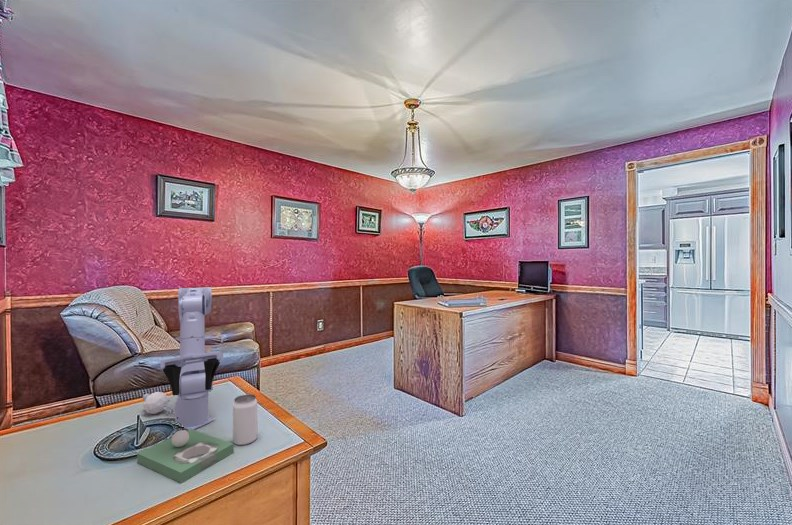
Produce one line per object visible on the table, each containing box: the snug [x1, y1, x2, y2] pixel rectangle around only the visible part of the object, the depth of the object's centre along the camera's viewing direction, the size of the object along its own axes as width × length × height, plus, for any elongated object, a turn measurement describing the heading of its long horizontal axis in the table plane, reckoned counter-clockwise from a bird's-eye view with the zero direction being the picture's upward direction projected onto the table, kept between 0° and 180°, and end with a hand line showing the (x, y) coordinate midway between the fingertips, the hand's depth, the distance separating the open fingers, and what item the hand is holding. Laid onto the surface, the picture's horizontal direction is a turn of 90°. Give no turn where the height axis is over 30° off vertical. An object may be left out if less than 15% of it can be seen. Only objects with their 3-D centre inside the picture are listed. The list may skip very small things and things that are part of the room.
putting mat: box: [136, 429, 235, 484], centre depth 90 cm, size 18×14×2 cm
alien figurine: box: [142, 391, 174, 416], centre depth 116 cm, size 7×7×12 cm
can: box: [232, 393, 259, 446], centre depth 99 cm, size 6×6×12 cm
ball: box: [171, 429, 189, 447], centre depth 91 cm, size 4×4×4 cm
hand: (192, 392), depth 89 cm, fingers open, 7 cm apart
